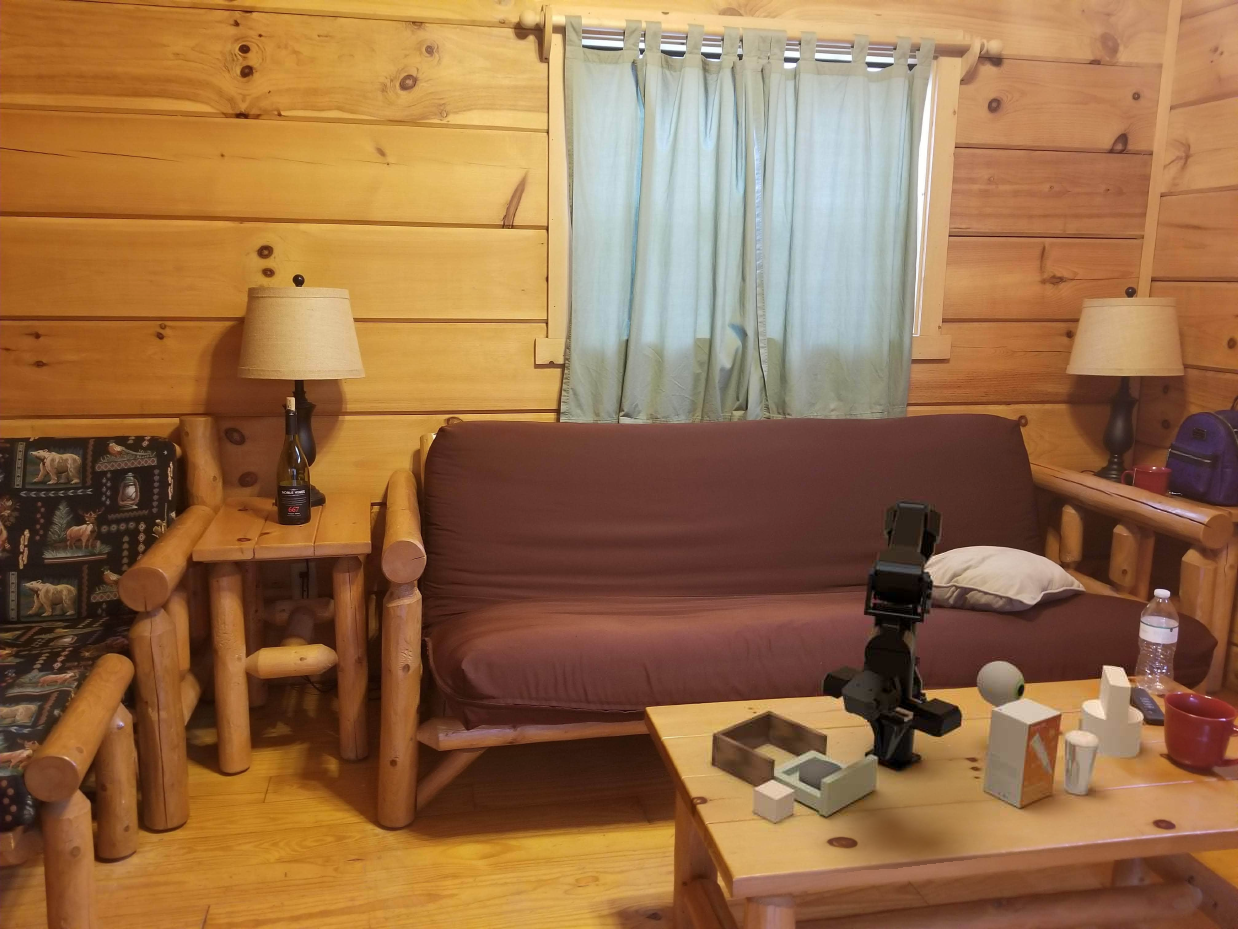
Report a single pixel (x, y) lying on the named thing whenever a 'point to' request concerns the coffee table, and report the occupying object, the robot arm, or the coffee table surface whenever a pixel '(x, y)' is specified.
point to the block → (773, 801)
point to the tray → (830, 782)
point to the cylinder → (816, 772)
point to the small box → (1022, 752)
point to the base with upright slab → (1114, 716)
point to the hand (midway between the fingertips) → (884, 758)
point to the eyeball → (1000, 683)
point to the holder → (740, 740)
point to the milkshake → (1079, 760)
